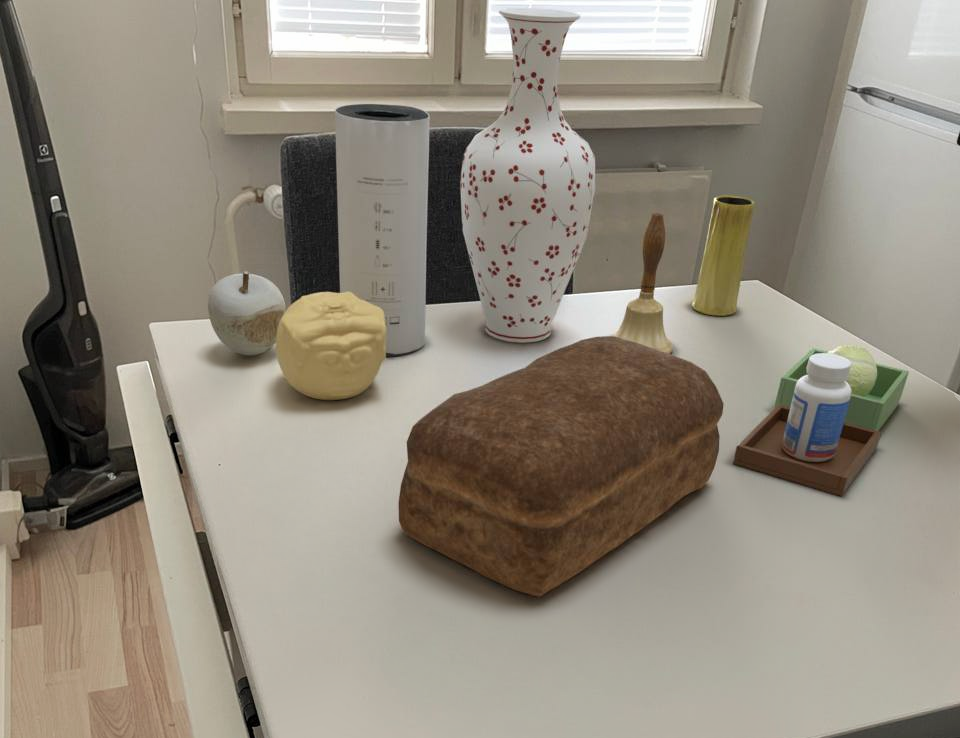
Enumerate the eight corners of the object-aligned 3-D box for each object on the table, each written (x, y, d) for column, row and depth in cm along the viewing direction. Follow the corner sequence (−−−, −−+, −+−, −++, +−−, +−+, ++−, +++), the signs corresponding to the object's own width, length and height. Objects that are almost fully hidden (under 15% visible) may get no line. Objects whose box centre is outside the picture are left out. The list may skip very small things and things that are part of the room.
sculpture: (296, 417, 104) (289, 316, 98) (267, 374, 113) (259, 278, 106) (398, 403, 108) (398, 305, 102) (363, 362, 117) (360, 269, 110)
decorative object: (249, 334, 123) (241, 251, 116) (303, 351, 119) (298, 266, 113) (196, 355, 117) (185, 268, 110) (251, 374, 113) (243, 285, 107)
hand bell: (593, 345, 125) (609, 212, 115) (632, 330, 130) (650, 201, 120) (647, 365, 120) (668, 228, 111) (685, 348, 125) (708, 216, 116)
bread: (723, 483, 97) (752, 353, 89) (534, 615, 78) (548, 464, 70) (582, 429, 105) (596, 305, 97) (379, 536, 86) (377, 393, 78)
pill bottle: (840, 449, 103) (867, 359, 97) (825, 468, 99) (851, 376, 93) (789, 435, 105) (812, 345, 99) (773, 453, 102) (795, 362, 96)
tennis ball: (878, 415, 110) (896, 357, 106) (823, 417, 109) (839, 358, 105) (850, 391, 115) (866, 335, 111) (797, 393, 114) (812, 336, 110)
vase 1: (450, 308, 133) (458, 0, 112) (568, 309, 135) (598, 6, 114) (461, 354, 120) (473, 16, 99) (591, 354, 122) (630, 23, 101)
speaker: (433, 331, 126) (437, 101, 110) (418, 361, 118) (420, 118, 102) (352, 323, 127) (344, 95, 111) (331, 353, 119) (320, 111, 103)
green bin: (898, 404, 114) (909, 371, 112) (872, 438, 107) (883, 403, 104) (804, 380, 119) (812, 347, 116) (773, 411, 111) (781, 377, 109)
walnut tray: (876, 449, 105) (881, 431, 103) (841, 496, 96) (847, 478, 95) (774, 421, 109) (778, 404, 108) (732, 463, 100) (736, 445, 99)
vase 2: (744, 310, 138) (766, 201, 130) (720, 319, 134) (742, 208, 126) (707, 298, 141) (726, 192, 133) (683, 308, 138) (701, 199, 129)
